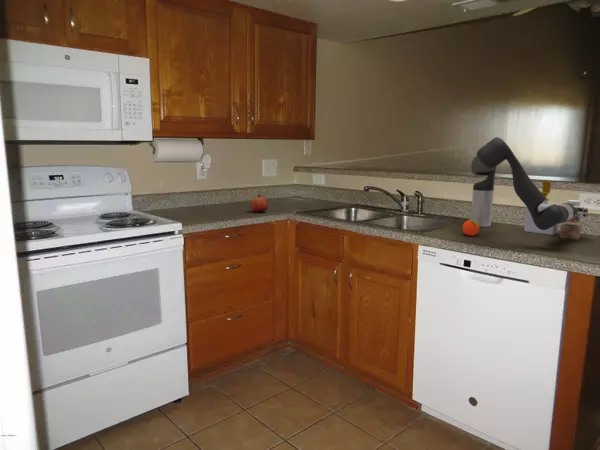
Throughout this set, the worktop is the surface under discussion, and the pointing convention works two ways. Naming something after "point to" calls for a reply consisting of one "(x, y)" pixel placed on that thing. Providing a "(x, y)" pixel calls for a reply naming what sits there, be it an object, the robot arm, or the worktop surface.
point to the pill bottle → (577, 218)
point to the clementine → (471, 227)
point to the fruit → (259, 204)
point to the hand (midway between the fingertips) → (574, 209)
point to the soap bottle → (529, 221)
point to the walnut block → (570, 231)
